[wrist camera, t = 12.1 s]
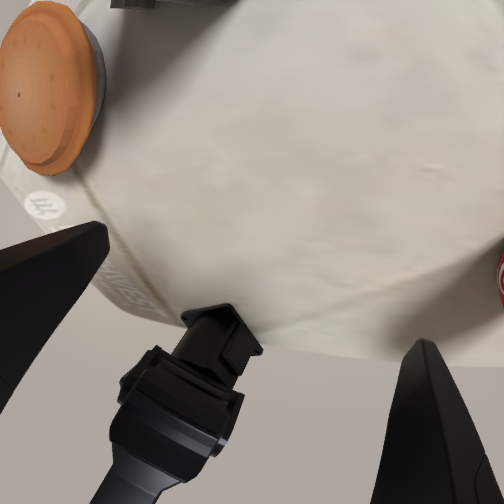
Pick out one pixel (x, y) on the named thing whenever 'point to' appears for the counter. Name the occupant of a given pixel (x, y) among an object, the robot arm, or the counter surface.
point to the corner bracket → (132, 4)
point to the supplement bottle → (197, 2)
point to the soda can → (501, 278)
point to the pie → (49, 86)
